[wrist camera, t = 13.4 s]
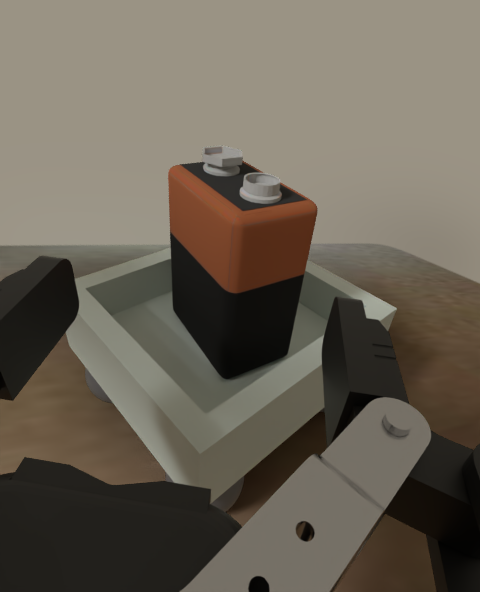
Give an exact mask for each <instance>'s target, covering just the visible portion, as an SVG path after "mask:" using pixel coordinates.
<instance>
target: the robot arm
mask: <svg viewBox="0 0 480 592" xmlns="http://www.w3.org/2000/svg"><path fill="white" fill-rule="evenodd" d="M78 310H79V298H78V293H77V288H76V283H75V279H74V274H73V269H72V265H71V263H70V261H69V260H67V259H63V258H55V257H48V256H40V257H38V258H37V259H36V260H35V261H34V262H32V263H31V264H30V265H29V266H28V267H27V268H26V269H25V270H23V269H22V270H20V271H18V272H16V273H14V274H12V275H10V276H8V277H5V278H4V279H3V280H2V281H1V282H0V399H5V400H12V401H13V400H14V399H15V397H16V396H17V395H18V393H19V392H20V391H21V389H22V388H23V387H24V385H25V384H26V383H27V382H28V380H29V379H30V378H31V376H32V375H33V374H34V372H35V371H36V370H37V369H38V367H39V366H40V365H41V363H42V362H43V361H44V359H45V358H46V357H47V355H48V354H49V353H50V352H51V350H52V349H53V348H54V346H55V345H56V344H57V342H58V341H59V340H60V339H61V337H62V336H63V335H64V333H65V332H66V331H67V329H68V328H69V327H70V325H71V324H72V323H73V322H74V320H75V319H76V317H77V314H78ZM322 372H323V389H324V406H325V423H326V440H327V449H326V450H325V451H324V452H323V453H322V454H321V455H318V454H316V453H315V454H313V455H311V456H310V457H309V458H308V459H307V460H306V461H305V462H304V463H303V464H302V465H301V466H300V467H299V468H298V469H297V470H296V471H295V472H294V473H293V474H292V475H291V476H290V477H289V479H288V480H287V481H286V482H285V483H284V484H283V485H282V486H281V487H280V488H279V489H278V490H277V491H276V492H275V493H274V494H273V495H272V496H271V498H270V499H269V500H268V501H267V502H266V503H265V504H264V505H263V506H262V507H261V508H260V509H259V510H258V511H257V512H256V513H255V514H254V516H253V517H252V518H251V519H250V520H249V521H248V522H247V523H246V524H245V525H244V526H243V527H242V526H241V525H240V524H239V523H238V522H237V521H236V520H234V519H233V518H232V517H231V516H230V515H229V514H227V513H226V512H224V511H223V510H221V509H220V508H218V507H216V506H214V505H212V504H210V501H211V489H208V488H202V487H196V486H190V485H184V484H179V483H173V482H167V481H159V482H148V483H136V484H125V485H110V484H107V483H105V482H103V481H101V480H99V479H97V478H95V477H93V476H91V475H89V474H87V473H85V472H83V471H81V470H79V469H77V468H75V467H73V466H71V465H67V464H61V463H56V462H50V461H44V460H38V459H32V458H26V457H25V458H24V459H23V461H22V462H21V464H20V465H19V467H18V469H17V470H16V472H13V473H7V474H2V475H0V592H334V591H335V590H336V588H337V587H338V585H339V584H340V582H341V580H342V579H343V577H344V576H345V574H346V573H347V571H348V570H349V568H350V567H351V565H352V564H353V562H354V561H355V559H356V557H357V556H358V554H359V553H360V551H361V550H362V548H363V547H364V545H365V544H366V542H367V541H368V539H369V538H370V536H371V535H372V533H373V532H374V530H375V529H376V527H377V526H378V524H379V523H380V521H381V520H382V518H383V517H384V515H385V514H387V515H389V516H391V517H393V518H395V519H397V520H399V521H401V522H403V523H405V524H407V525H409V526H411V527H413V528H414V529H416V530H418V531H420V532H422V533H424V534H426V537H427V542H428V548H429V553H430V558H431V564H432V569H433V574H434V580H435V585H436V590H437V592H480V444H479V445H477V446H476V448H475V449H474V450H472V449H470V448H467V447H465V446H462V445H460V444H458V443H455V442H453V441H451V440H448V439H446V438H444V437H442V436H439V435H438V434H436V433H434V432H433V431H431V430H430V427H429V425H428V423H427V421H426V420H425V418H424V417H423V416H422V414H421V413H420V412H419V411H417V410H416V409H415V408H414V407H412V406H411V405H409V402H408V398H407V395H406V391H405V387H404V384H403V380H402V377H401V373H400V370H399V366H398V363H397V361H396V356H395V352H394V349H393V345H392V341H391V338H390V334H389V332H388V331H387V330H386V328H385V327H384V326H383V325H382V324H381V322H380V321H379V320H377V319H370V318H366V314H365V310H364V305H363V301H362V300H358V299H351V298H343V297H335V298H334V301H333V304H332V308H331V312H330V315H329V319H328V323H327V326H326V330H325V334H324V338H323V343H322Z"/></svg>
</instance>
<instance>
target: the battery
mask: <svg viewBox="0 0 480 592" xmlns="http://www.w3.org/2000/svg"><path fill="white" fill-rule="evenodd" d="M242 159H243V157H242V150H239V149H235V148H231V147H226V146H210V147H203V150H202V162H200V163H191V164H180V165H176V166H173V167H172V168H171V169H170V170H169V175H168V180H169V208H170V209H169V210H170V239H171V271H172V301H173V310H174V312H175V314H176V315H177V317H178V318H179V319H180V321H181V322H182V324H183V325H184V326H185V328H186V329H187V331H188V332H189V333H190V335H191V336H192V338H193V339H194V340H195V342H196V343H197V345H198V346H199V347H200V349H201V350H202V352H203V353H204V354H205V356H206V357H207V359H208V360H209V361H210V363H211V364H212V366H213V367H214V368H215V370H216V371H217V372H218V374H219V375H220V376H221V377H222V378H224V379H230V378H233V377H236V376H238V375H241V374H243V373H246V372H248V371H251V370H253V369H256V368H258V367H261V366H263V365H265V364H268V363H270V362H273V361H275V360H278V359H280V358H283V357H285V356H286V355H287V354H288V351H289V346H290V341H291V337H292V332H293V327H294V322H295V317H296V313H297V308H298V303H299V298H300V293H301V288H302V284H303V279H304V274H305V269H306V264H307V259H308V255H309V250H310V245H311V240H312V235H313V230H314V226H315V221H316V216H317V206H316V204H314V202H313V201H311V200H310V199H308V198H307V197H305V196H303V195H301V194H300V193H298V192H296V191H295V190H293V189H291V188H289V187H287V186H286V185H284V184H282V183H281V180H280V179H279V178H278V177H276V176H274V175H271V174H267V173H263V172H261V171H260V170H258V169H256V168H255V167H253V166H251V165H249V164H248V163H246V162H244V161H242Z"/></svg>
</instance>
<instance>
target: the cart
mask: <svg viewBox="0 0 480 592" xmlns="http://www.w3.org/2000/svg"><path fill="white" fill-rule="evenodd" d="M75 283H76V288H77V293H78V298H79V310H78V314H77V317H76V319H75V320H74V322H73V323H72V324H71V325H70V327H69V328H68V329H67V331H66V335H67V339H68V343H69V346H70V347H71V349H72V350H73V351H74V353H75V354H76V355H77V357H78V358H79V359H80V360H81V362H82V363H83V364H84V366H85V367H86V369H85V377H86V382H87V385H88V387H89V389H90V390H91V392H92V393H93V394H94V395H95V396H96V397H97V398H99V399H101V400H102V401H105V402H109V403H114V405H115V406H116V407H117V409H118V410H119V411H120V413H121V414H122V415H123V416H124V418H125V419H126V420H127V422H128V423H129V424H130V426H131V427H132V428H133V430H134V431H135V432H136V433H137V435H138V436H139V437H140V439H141V440H142V441H143V443H144V444H145V445H146V446H147V448H148V449H149V450H150V452H151V453H152V454H153V456H154V457H155V458H156V460H157V461H158V462H159V463H160V465H161V466H162V467H163V469H164V470H165V471H166V481H167V482H173V483H179V484H184V485H190V486H196V487H202V488H208V489H211V501H210V504H212V505H214V506H216V507H218V508H220V509H221V510H223V511H224V512H226V511H227V510H229V509H230V508H231V507H232V506H233V505H234V503H235V502H236V500H237V499H238V497H239V495H240V493H241V490H242V487H243V483H244V475H245V474H246V473H247V472H249V471H250V470H251V469H252V468H253V467H255V466H256V465H257V464H258V463H259V462H260V461H262V460H263V459H264V458H265V457H266V456H267V455H269V454H270V453H271V452H272V451H273V450H275V449H276V448H277V447H278V446H279V445H280V444H282V443H283V442H284V441H285V440H286V439H287V438H289V437H290V436H291V435H292V434H293V433H295V432H296V431H297V430H298V429H299V428H300V427H302V426H303V425H304V424H305V423H306V422H307V421H309V420H310V419H311V418H312V417H313V416H314V415H316V414H317V413H318V412H325V406H324V389H323V372H322V343H323V338H324V334H325V330H326V326H327V323H328V319H329V315H330V312H331V308H332V304H333V301H334V298H335V297H343V298H351V299H358V300H362V301H363V305H364V310H365V314H366V318H370V319H377V320H379V321H380V322H381V324H382V325H383V326H384V327H385V328H386V330H387V331H388V330H389V327H390V325H391V322H392V320H393V317H394V315H395V312H396V310H397V308H395V307H393V306H392V305H390V304H388V303H386V302H384V301H382V300H381V299H379V298H377V297H375V296H373V295H371V294H370V293H368V292H366V291H364V290H362V289H360V288H359V287H357V286H355V285H353V284H351V283H349V282H348V281H346V280H344V279H342V278H340V277H338V276H337V275H335V274H333V273H331V272H329V271H327V270H326V269H324V268H322V267H320V266H318V265H316V264H315V263H313V262H311V261H309V260H307V264H306V269H305V274H304V279H303V284H302V288H301V293H300V298H299V303H298V308H297V313H296V317H295V322H294V327H293V332H292V337H291V341H290V346H289V351H288V354H287V355H286V356H285V357H283V358H280V359H278V360H275V361H273V362H270V363H268V364H265V365H263V366H261V367H258V368H256V369H253V370H251V371H248V372H246V373H243V374H241V375H238V376H236V377H233V378H230V379H224V378H222V377H221V376H220V375H219V374H218V372H217V371H216V370H215V368H214V367H213V366H212V364H211V363H210V361H209V360H208V359H207V357H206V356H205V354H204V353H203V352H202V350H201V349H200V347H199V346H198V345H197V343H196V342H195V340H194V339H193V338H192V336H191V335H190V333H189V332H188V331H187V329H186V328H185V326H184V325H183V324H182V322H181V321H180V319H179V318H178V317H177V315H176V314H175V312H174V310H173V301H172V271H171V247H170V248H167V249H164V250H161V251H158V252H155V253H152V254H149V255H146V256H143V257H140V258H137V259H134V260H131V261H128V262H125V263H122V264H119V265H116V266H113V267H110V268H107V269H103V270H100V271H97V272H94V273H91V274H88V275H85V276H82V277H79V278H76V279H75Z"/></svg>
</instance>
